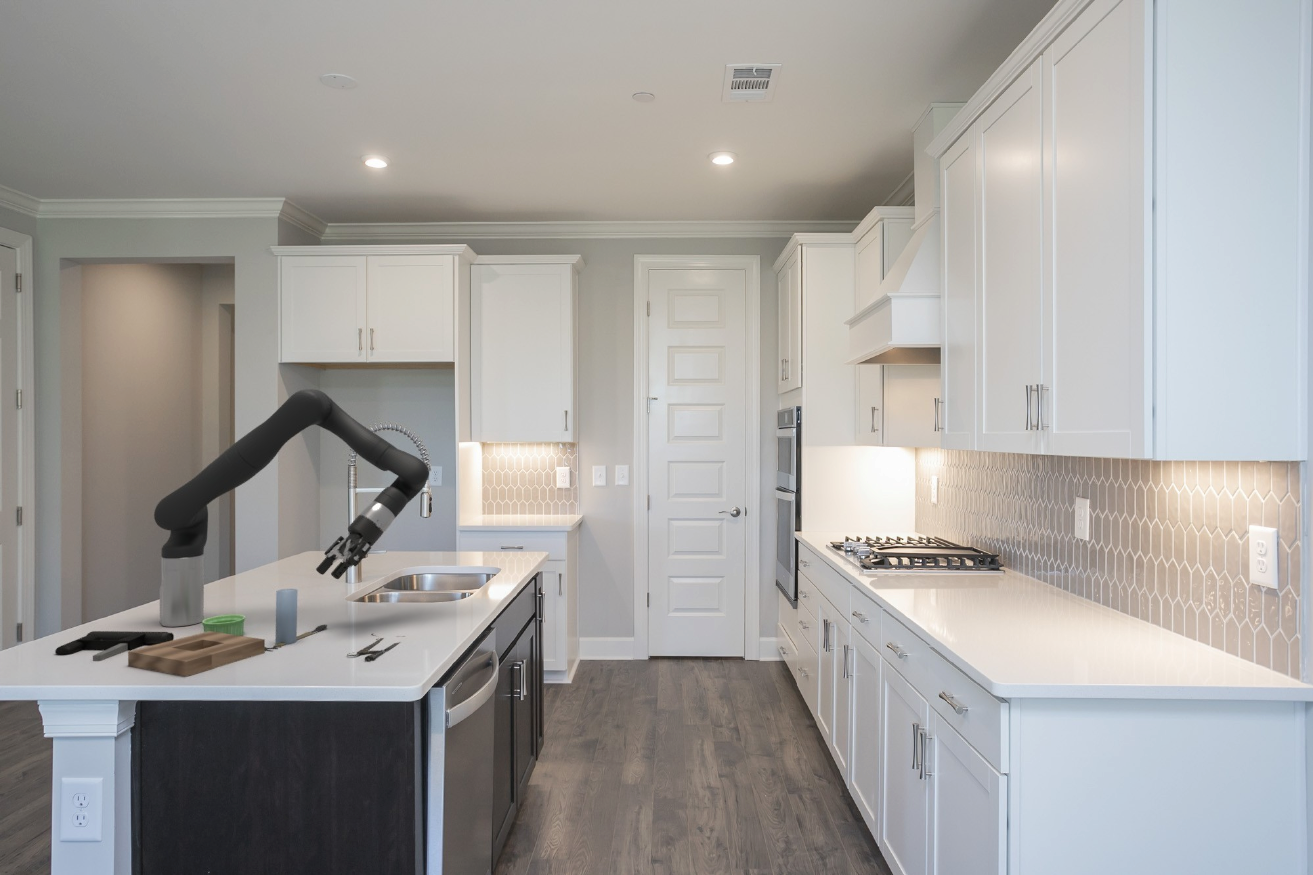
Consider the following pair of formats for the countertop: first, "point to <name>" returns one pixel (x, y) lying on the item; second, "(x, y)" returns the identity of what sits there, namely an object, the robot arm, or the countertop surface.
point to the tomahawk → (299, 637)
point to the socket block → (196, 653)
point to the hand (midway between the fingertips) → (326, 574)
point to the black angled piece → (113, 642)
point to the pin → (286, 616)
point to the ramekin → (225, 624)
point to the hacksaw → (376, 653)
